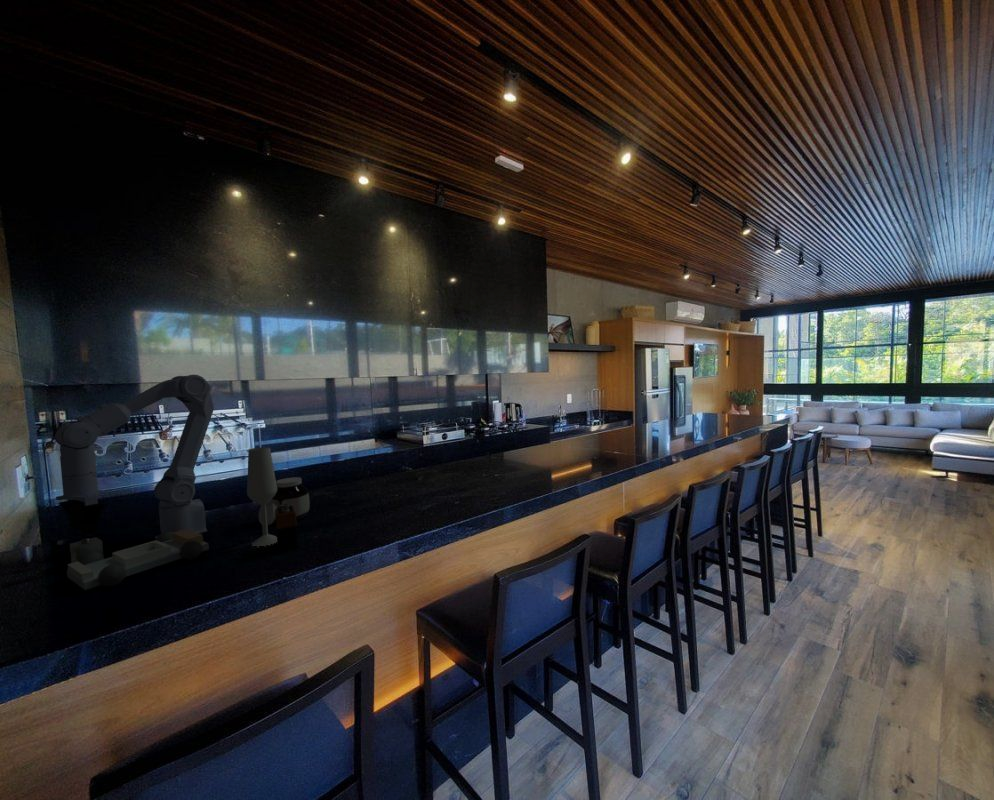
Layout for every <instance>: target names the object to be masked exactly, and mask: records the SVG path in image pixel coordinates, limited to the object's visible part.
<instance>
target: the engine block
mask: <svg viewBox="0 0 994 800" xmlns="http://www.w3.org/2000/svg"><path fill="white" fill-rule="evenodd" d="M103 548H104V547H103V540H102V539H100V538H98V537H85V538H82V539H81V540H79V541H76V542H72V543H69V552H70V560H71V561H70V562H71V563H74V562H77V561H79V559H80V558H81V557H82V556H83V555H85V554H87V553H90V552H97V553H99V554H101V555H102V556H103V557H104V549H103Z"/></svg>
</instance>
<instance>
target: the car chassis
mask: <svg viewBox="0 0 994 800" xmlns="http://www.w3.org/2000/svg"><path fill="white" fill-rule="evenodd" d="M157 536H158V537H157V538H155V540H151V541H148V542H145V543H142V544H139V545H134V546H131V547H128V548H124V549H120V550H117V551H113V552H112V553H111V555H112V556H111V557H108V558H105V557H104V555H103V556H102V555H101V554H99V553H97V552H90V553H87V554H85V555H83V556H82V557H81V558H80V559H79V561H77V562H74V563H68V564H67V569H66V574H67V578H68V579H70V580H71V581H72V582H73V583H75V585H77V586H78V587H80V588H81V589H82V590H84V591H87V590H90V589H93V588H95V587H99V586H102V585H103V586H105V587H114V586H117V585H119V584H120V583H122V582H123V581H124V579H126V577H129V576H132V575H135V574H138V573H142V572H144V571H148V570H150V569H153V568H156V567H157V568H158V567H160V566H163V565H165V564H169V563H172V562H175V561H178V560H181V559H185V560H189V561H190V560H194V559H197V557H199V556H200V555H201V553H202V552H204V551H208V550H210V545H209V542H206V541H204V535H203V533H200V534H199V533H196V532H193V531H190V530H188V529H185V530H181V531H178V532H174V533H173V532H170V531H166V532H163V533H161V532H160V533H159V534H158V535H157Z"/></svg>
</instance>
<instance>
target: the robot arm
mask: <svg viewBox="0 0 994 800" xmlns="http://www.w3.org/2000/svg"><path fill="white" fill-rule="evenodd" d="M211 390H212V385H210V383H209V382H208V381H207V380H206V379H205V377H203V376H201V375H199V374H189V375H176V376H173V377H171V379H167V380H163V381H161V382H159V383H157V384H155V385H153V386H151V387H150V388H147V389H145V390H144V391H142V392H140V393H139V394H136V395H135V396H134V397H131V398H130V399H128V400H126V401H124V402H123V403H121V404H120V403H116V402H111V403H108V404H107V403H102V404H99V405H98V409H96V410H94V411H92V412H90V413H88V414H86V415H84V416H82V415H79V416H77V417H75V420H76V422H69V423H65V424H63V425H61V426H60V427H59V428H58V430H56V432H55V435H54V436H53V438H54V441H55V442H56V443H57V445H59V453H60V456H59V462H60V471H61V472H60V473H61V484H62V485H61V486H62V493H63V495H58V496H55V500H57V501H60V502H58V505H59V506H60V507H61V508H62V510H63V511H64V512H65V515H66V517H67V519H68V521H69V525H70V526H71V529H72V531H78V530H80V532H81V534H82V536H84V537H86V536H89V535H93V534H97V531H98V528H99V521H100V517H101V514H102V512H103V510H104V508H105V507H106V505H107V502H105V501H100V502H99V501H98V495H99V494H100V489H99V487H98V485H99V484H98V473H97V472H98V471H97V461H96V453H95V443H96V442H97V440H98V438H101V437H103V436H105V435H107V434H109V433H110V432H113V431H115V430H116V429H118V428H119V427H121V426H124V425H126V424H127V423H129V422H130V419H131V417H132V415H133V414H135V413H136V412H138V411H141V410H142V409H144V408H147V407H149V406H151V405H153V404H155V403H157V402H159V401H161V400H163V399H168V398H175V399H177V400H178V401H180V402H182V403H183V405H184V406H185V407H186V409H187V410H188V415H187V419H186V420H185V424H184V426H183V429H182V431H181V436H180V439H179V440H178V445H177V447H176V449H175V452H174V456H173V458H172V461H171V464H170V466H169V467H168V468H167V469H166V471H164V473H163V476H162V477H161V479H160V480H159V481H158V482H157V483H156V484H155V486H154V489H153V494H154V496H155V497H156V499H158V500H159V502H158V514H159V515H158V516H159V525H160V527H159V528H160V534H161V533H163V532H166V531H170V532H173V533H174V532H178V531H181V530H185V529H188V530H190V531H193V532H196V533H199V534H203V533H205V532H206V533H207V532H208V529H207V525H206V523H207V522H206V511H205V506H204V503H203V501H202V500H201V499H199V498H197V499H193V498H194V497H195V494H196V487H195V482H196V480H197V477H196V474H195V472H194V471H195V466H196V463H197V460H198V458H199V455H200V452H201V449H202V446H203V443H204V440H205V437H206V435H207V431H208V428H209V425H210V422H211V419H212V416H213V412H214V409H215V407H214V403H213V398H212V395H211ZM158 536H159V535H155V536H154V539H156V538H157V537H158Z"/></svg>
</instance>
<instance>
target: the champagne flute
mask: <svg viewBox="0 0 994 800" xmlns="http://www.w3.org/2000/svg"><path fill="white" fill-rule="evenodd" d="M247 451H248V454H247V455H248V456H247V457H248V458H247V480H246V482H247V483H246V485H247V486H246V495H247V497H248V498H249V499H250V500H251V501H252V502H254V503H255V504H257V505H260V508H261V516H262V524H261V527H262V528H261V530H262V535H260V537H258V538H257V539H255V540H254V541H252V542H251V544H252V546H251V547H253V546H257V547H256V548H260V547H259V546H264V547H267V546H266V545H268V546H271V544H272V545H274V543H275V544H277V543H276V542H277V535H273V534H270V533H269V528H268V526H269V525H267V512H266V504H267V503H268V502H269V501H270V500H271V499H272V498H273V497H274V496H275V494H276V492H277V484H276V481H277V480H276V474H275V473H276V472H275V469H274V462H273V457H272V452H271V447H270V446H263V447H262V446H261V447H260V446H259V447H255V448H254V447H253V448H250V449H248V450H247Z"/></svg>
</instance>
